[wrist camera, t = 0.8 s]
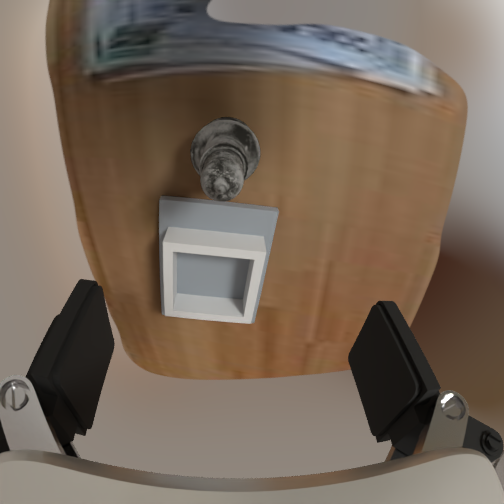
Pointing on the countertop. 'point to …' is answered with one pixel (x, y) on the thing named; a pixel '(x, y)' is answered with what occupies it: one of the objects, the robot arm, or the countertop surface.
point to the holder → (213, 257)
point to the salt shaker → (224, 157)
